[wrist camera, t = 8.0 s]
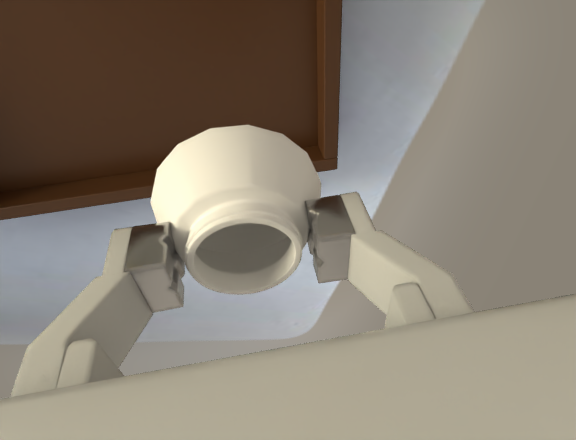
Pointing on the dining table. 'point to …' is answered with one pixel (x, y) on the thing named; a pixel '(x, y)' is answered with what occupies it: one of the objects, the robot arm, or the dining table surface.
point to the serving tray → (153, 89)
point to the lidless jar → (237, 206)
